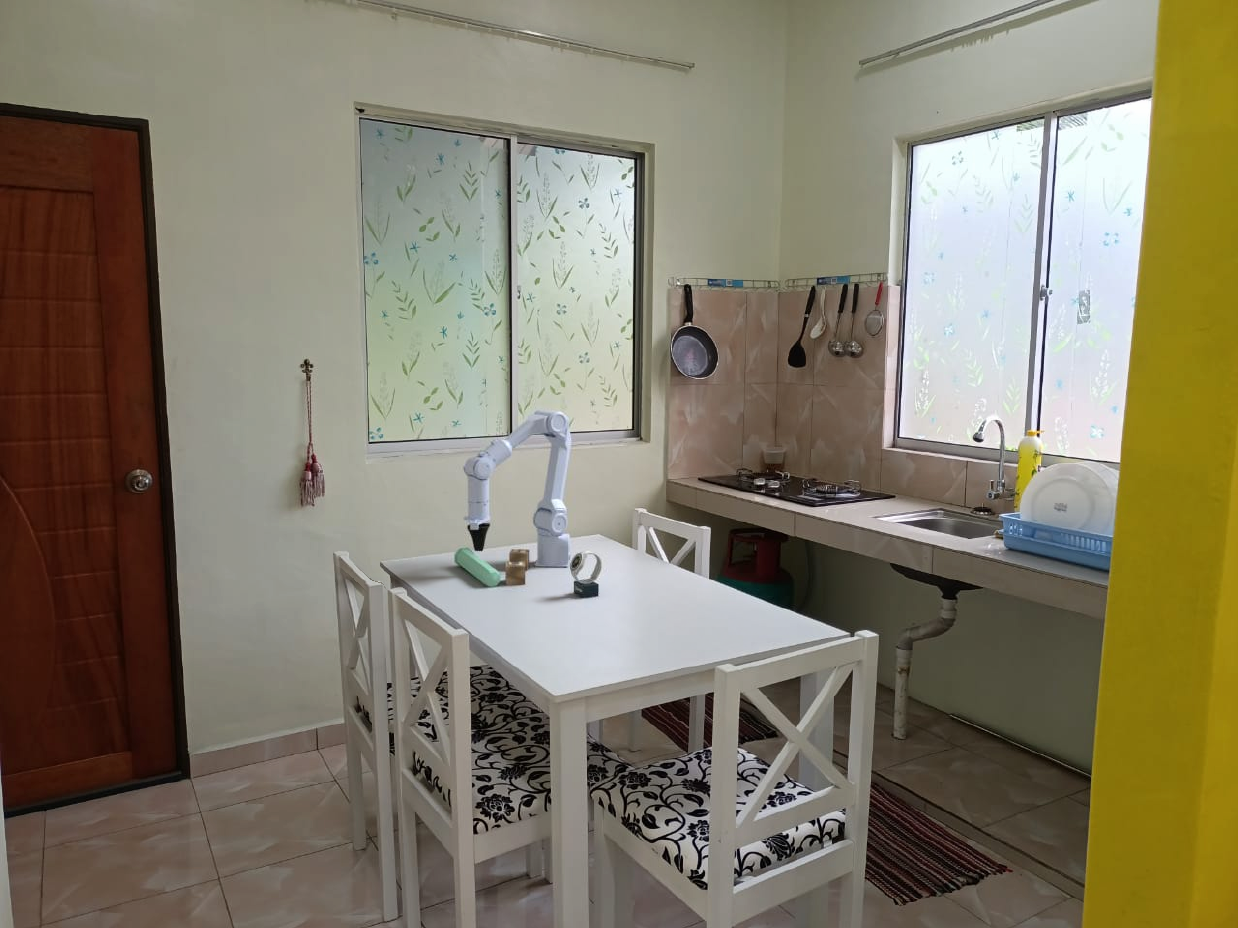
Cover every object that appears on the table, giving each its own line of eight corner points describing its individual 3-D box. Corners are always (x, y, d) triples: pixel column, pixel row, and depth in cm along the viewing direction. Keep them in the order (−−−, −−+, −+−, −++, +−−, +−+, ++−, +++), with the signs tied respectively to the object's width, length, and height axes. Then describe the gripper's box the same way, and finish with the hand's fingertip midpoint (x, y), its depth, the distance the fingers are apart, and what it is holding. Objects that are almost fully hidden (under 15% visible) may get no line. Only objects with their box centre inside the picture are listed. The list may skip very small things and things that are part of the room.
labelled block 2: (524, 579, 243) (524, 560, 242) (525, 584, 238) (525, 565, 237) (505, 580, 242) (505, 560, 241) (506, 585, 237) (506, 565, 237)
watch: (566, 593, 230) (567, 551, 229) (595, 590, 234) (595, 548, 232) (575, 599, 225) (576, 555, 224) (604, 595, 229) (605, 552, 228)
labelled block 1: (529, 566, 257) (529, 548, 256) (527, 571, 252) (527, 552, 252) (511, 566, 257) (511, 548, 257) (509, 570, 252) (509, 552, 252)
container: (499, 564, 235) (469, 543, 257) (479, 575, 233) (450, 552, 255) (507, 584, 237) (476, 561, 259) (487, 594, 234) (458, 570, 256)
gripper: (468, 496, 251) (469, 544, 253) (458, 505, 237) (459, 556, 239) (494, 496, 251) (494, 544, 253) (485, 506, 237) (485, 557, 239)
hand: (478, 550), depth 246 cm, fingers closed
